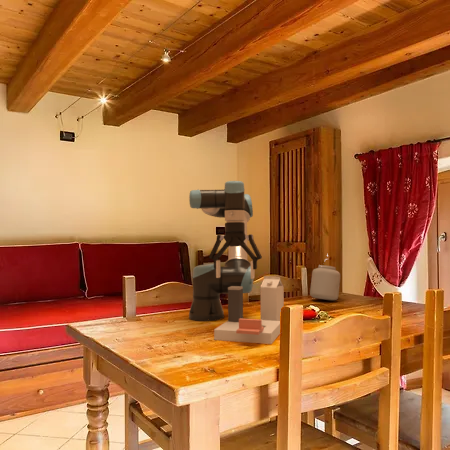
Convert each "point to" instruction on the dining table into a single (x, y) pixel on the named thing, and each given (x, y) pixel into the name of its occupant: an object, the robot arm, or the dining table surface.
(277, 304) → the milk carton
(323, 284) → the jar
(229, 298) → the plug
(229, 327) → the socket plate
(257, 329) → the salmon red stepped block
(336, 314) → the dining table surface
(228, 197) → the robot arm
